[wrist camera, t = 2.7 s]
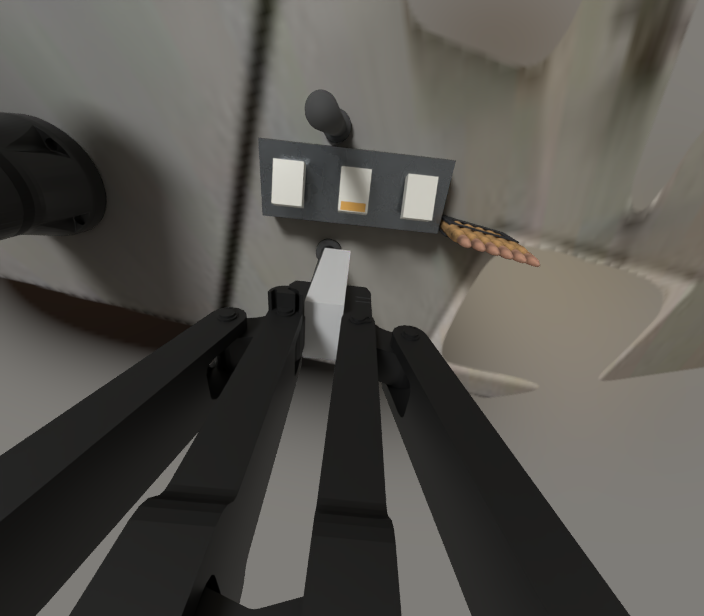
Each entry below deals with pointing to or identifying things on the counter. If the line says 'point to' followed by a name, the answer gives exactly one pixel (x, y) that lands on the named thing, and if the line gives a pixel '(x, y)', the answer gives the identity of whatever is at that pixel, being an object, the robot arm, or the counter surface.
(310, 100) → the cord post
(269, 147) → the breaker panel
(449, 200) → the counter surface
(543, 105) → the counter surface
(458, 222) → the ammunition clip
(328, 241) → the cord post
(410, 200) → the paddle right
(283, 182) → the paddle left
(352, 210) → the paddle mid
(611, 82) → the counter surface
